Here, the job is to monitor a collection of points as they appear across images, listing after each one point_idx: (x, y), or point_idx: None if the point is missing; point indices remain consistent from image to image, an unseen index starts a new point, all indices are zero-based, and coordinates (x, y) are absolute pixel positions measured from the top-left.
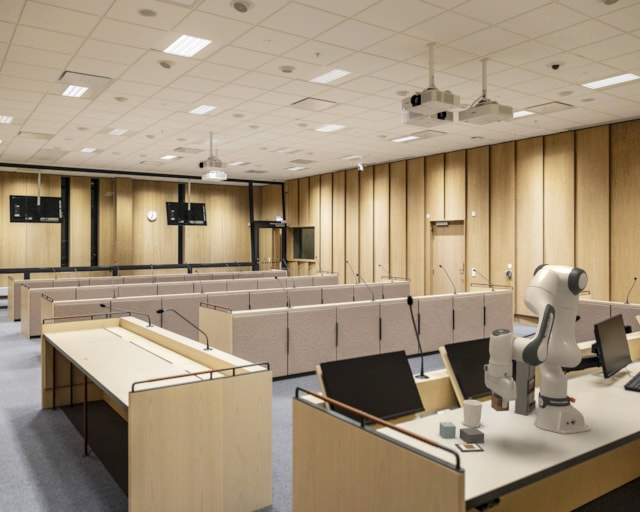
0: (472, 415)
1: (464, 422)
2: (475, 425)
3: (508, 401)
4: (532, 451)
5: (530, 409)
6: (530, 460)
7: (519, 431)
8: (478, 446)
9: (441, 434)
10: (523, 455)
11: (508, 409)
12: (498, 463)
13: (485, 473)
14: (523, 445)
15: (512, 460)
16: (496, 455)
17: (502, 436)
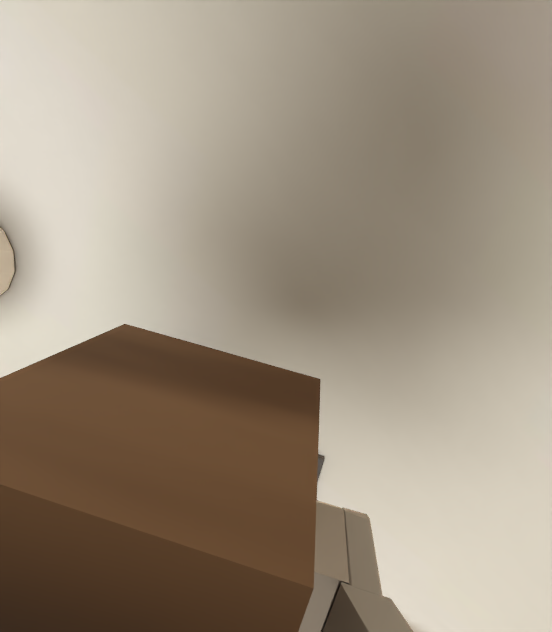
0: None
1: None
2: (6, 267)
3: (309, 505)
4: (438, 189)
5: None
6: (538, 308)
7: (126, 13)
8: None
9: None
10: (460, 294)
11: (317, 397)
12: (480, 496)
13: (540, 623)
14: (337, 175)
15: (485, 405)
16: (393, 435)
17: (174, 204)
